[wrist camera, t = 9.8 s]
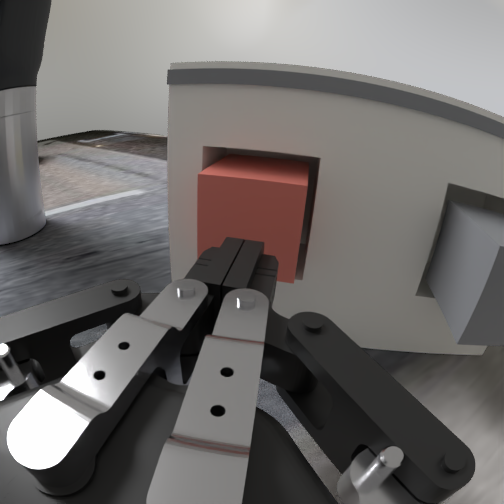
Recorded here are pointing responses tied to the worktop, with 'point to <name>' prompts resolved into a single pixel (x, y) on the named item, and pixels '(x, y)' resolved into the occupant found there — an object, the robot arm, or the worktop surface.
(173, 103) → the push button box
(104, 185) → the worktop surface
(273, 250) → the red button
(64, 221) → the worktop surface
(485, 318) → the grey button
